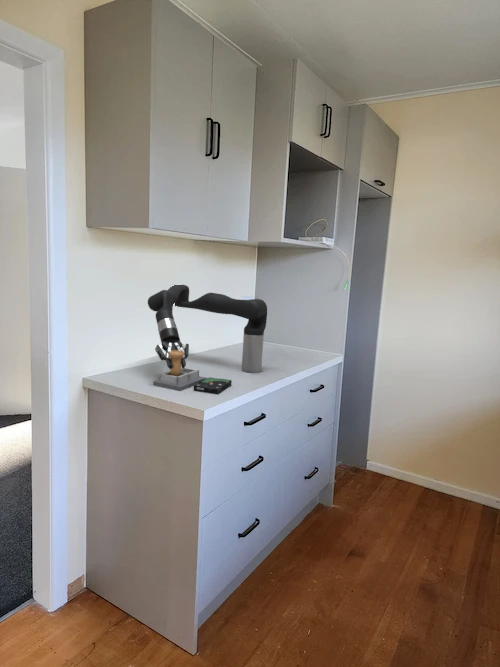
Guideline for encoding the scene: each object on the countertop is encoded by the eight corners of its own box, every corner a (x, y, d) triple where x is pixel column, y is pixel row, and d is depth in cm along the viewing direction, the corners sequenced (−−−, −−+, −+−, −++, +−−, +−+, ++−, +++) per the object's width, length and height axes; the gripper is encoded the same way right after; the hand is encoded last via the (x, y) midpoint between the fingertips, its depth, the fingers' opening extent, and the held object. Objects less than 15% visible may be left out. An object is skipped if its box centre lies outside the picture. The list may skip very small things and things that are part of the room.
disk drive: (218, 396, 166) (231, 386, 180) (218, 389, 165) (232, 379, 179) (193, 392, 169) (208, 382, 183) (193, 385, 168) (208, 376, 182)
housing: (179, 376, 189) (180, 365, 188) (205, 381, 183) (206, 370, 183) (153, 385, 173) (153, 373, 172) (180, 391, 167) (181, 379, 167)
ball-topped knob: (173, 375, 179) (174, 349, 177) (184, 378, 177) (186, 351, 174) (164, 378, 174) (166, 351, 172) (176, 382, 172) (178, 354, 169)
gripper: (182, 336, 187) (191, 371, 178) (149, 337, 180) (157, 373, 171) (187, 326, 182) (197, 361, 173) (153, 326, 175) (162, 363, 166)
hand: (177, 367), depth 172 cm, fingers closed on ball-topped knob, 4 cm apart
